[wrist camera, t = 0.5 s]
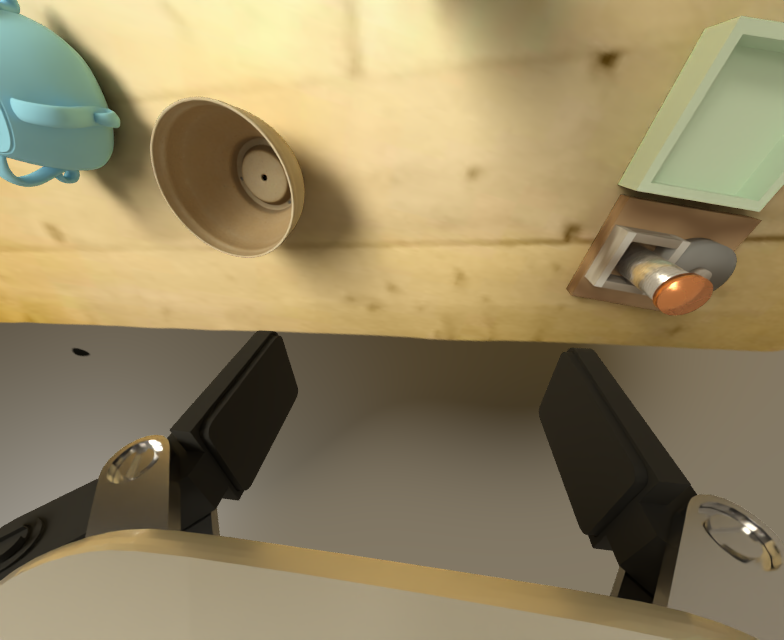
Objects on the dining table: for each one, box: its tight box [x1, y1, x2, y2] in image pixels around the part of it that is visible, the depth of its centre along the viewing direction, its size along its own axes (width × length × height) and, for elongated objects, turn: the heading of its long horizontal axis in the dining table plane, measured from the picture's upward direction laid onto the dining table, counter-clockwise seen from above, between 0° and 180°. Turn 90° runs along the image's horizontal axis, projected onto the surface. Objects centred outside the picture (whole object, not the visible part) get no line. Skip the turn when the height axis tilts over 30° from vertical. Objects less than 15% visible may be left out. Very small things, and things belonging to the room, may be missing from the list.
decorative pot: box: [0, 0, 120, 187], centre depth 32 cm, size 16×16×14 cm
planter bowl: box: [150, 97, 305, 258], centre depth 36 cm, size 16×16×11 cm
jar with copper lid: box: [614, 242, 713, 315], centre depth 34 cm, size 5×5×11 cm
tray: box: [618, 16, 784, 212], centre depth 30 cm, size 14×14×4 cm
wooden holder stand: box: [567, 194, 762, 311], centre depth 38 cm, size 14×16×6 cm
